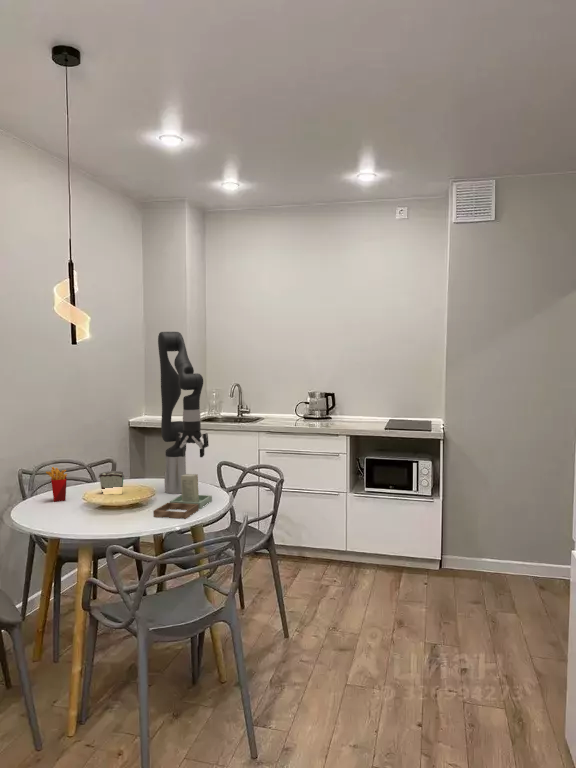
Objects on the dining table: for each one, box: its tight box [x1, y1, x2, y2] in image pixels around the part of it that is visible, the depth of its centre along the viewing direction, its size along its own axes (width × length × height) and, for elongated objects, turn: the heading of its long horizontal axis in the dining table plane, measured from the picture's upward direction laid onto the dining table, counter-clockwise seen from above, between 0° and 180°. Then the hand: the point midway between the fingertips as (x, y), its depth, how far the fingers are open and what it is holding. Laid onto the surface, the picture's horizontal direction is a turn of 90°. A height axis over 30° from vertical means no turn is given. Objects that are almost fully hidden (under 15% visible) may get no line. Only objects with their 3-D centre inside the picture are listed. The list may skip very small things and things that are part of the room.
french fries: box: [45, 466, 68, 503], centre depth 269 cm, size 9×8×15 cm
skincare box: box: [181, 473, 200, 502], centre depth 260 cm, size 6×4×12 cm
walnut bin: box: [153, 502, 200, 520], centre depth 246 cm, size 14×13×2 cm
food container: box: [98, 470, 126, 489], centre depth 283 cm, size 12×6×10 cm, turn 84°
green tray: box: [169, 494, 213, 510], centre depth 260 cm, size 14×13×2 cm
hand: (192, 456), depth 261 cm, fingers open, 8 cm apart
